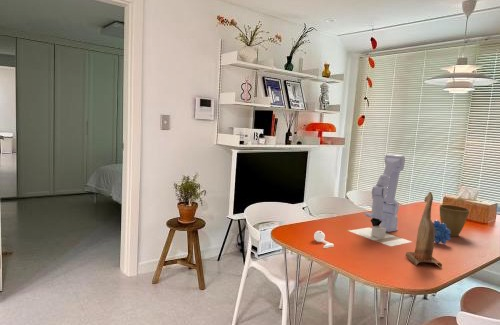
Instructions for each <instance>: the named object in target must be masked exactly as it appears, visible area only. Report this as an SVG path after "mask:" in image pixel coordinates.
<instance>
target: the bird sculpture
mask: <svg viewBox="0 0 500 325" xmlns="http://www.w3.org/2000/svg"><path fill="white" fill-rule="evenodd" d="M433 199H434V196H433V194H432V192H431V191H429V192H428V194H427V195H426V196H425V197H424V199H423V200H424V203H426V205H425V206H424V209H423V212H422V215H421V219H420V222H419V225H418V229H417V236H416V241H415V250H414V251H413V252H412V251H407V252H405V257H406V258H407V259H408V260H409V261H410V262H411V263H413V264H414V265H415V266H418V264H420V263H434V264H435V263H436V265H437V266H439V267H441V268H443V264H442V263H441V262H440V261H438V260H437V259H436V258H435V257H433V254H434V253H433V252H434V245H435V241H434V239H435V228H434V225H433V223H434V222H433V221H432V216H431V215H432V214H431V213H432V206H433ZM432 222H433V223H432Z"/></svg>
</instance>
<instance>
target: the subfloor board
mask: <svg viewBox="0 0 500 325" xmlns="http://www.w3.org/2000/svg"><path fill="white" fill-rule="evenodd" d="M372 228H373V227H363V228H357V229H348V232H350V233H352V234H356V235H357V236H361V237H362V238H366V239H369V240H371V241H374V242H377V243H380V244H383V245H385V246H388V247H395V246H401V245H405V244H410V243H412V241H411V240H408V239H405V238H401V237H400V236H399V237H398V236H396V235H393V234H391V233H388V232H386V233H385V238H377V237H375V236H372V235H371V233H372Z"/></svg>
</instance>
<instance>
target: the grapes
mask: <svg viewBox="0 0 500 325" xmlns="http://www.w3.org/2000/svg"><path fill="white" fill-rule="evenodd" d="M432 223H433V225H434V228H435V239H434V243H436V244H439V243H441V244H443V245H445V244H447V241H450V240H451V239H452V238H451V237H452V236H450V235H449V234H451V231H450V229H448V228H447V225H446V224H445V223H441V221H440V220H437V219H436V220H434V222H433V221H432Z"/></svg>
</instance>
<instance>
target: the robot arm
mask: <svg viewBox="0 0 500 325" xmlns="http://www.w3.org/2000/svg"><path fill="white" fill-rule="evenodd" d="M405 164H406V158H405V155H403V154H401V155H400V154H390V153H386V155H385V156H384V165H385V167H384V170H383V173H382V174H381V175H379V177H378V179H377V183H376V184H375V185H374V186H373V187H372V189H371V195H372V196H371V199H372V205H371V213H370V212H365V213H364V217H368V218H370V222H371V225H372V227H373V226H380V227H383V228H385V229H386V233H390V232H394V231H395V232H396V231H399V229H398V221H399V219H398V216H397V215H398V214H399V209H400V208H399V206H400V204H399V202H398V200H396V199H395V198H396V194H397V189H398V183H399V177H400V174H401V172H402V171H404V168H405Z"/></svg>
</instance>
